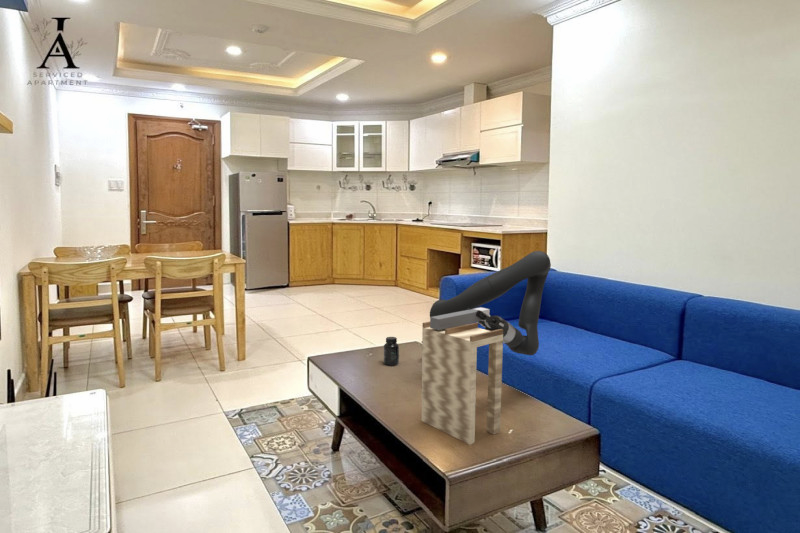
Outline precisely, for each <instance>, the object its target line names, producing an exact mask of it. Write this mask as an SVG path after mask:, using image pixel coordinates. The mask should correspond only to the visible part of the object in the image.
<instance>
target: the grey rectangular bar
mask: <svg viewBox="0 0 800 533" xmlns="http://www.w3.org/2000/svg"><path fill="white" fill-rule="evenodd" d="M478 310H480V311H482V312H483V313H485V314H488V315H490V310H491V309H490V308H486V307H481V306H479V307H476V308H474V309H470V310H465V311H459V312H454V313H449V314H444V315H439V316H434V317H430V316H429V319H430V320H429V322H430V328H433V329H436V330H442V329H447V328H451V327H456V326H460V325H467V324H472V323H474V322H476V323H477V322H479V321H483V320H482V319H480V318H478V317H477V316H476V313H477V311H478Z"/></svg>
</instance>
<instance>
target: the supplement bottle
mask: <svg viewBox="0 0 800 533" xmlns="http://www.w3.org/2000/svg"><path fill="white" fill-rule="evenodd" d="M397 339H398V338H397V337H395V336H387V337H386V338H385V343H384V344H383V365H385V366H386V365H387V367H395V365H396V366H398V365H399V364H400V345H399V344H398V340H397Z"/></svg>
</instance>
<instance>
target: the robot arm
mask: <svg viewBox="0 0 800 533" xmlns="http://www.w3.org/2000/svg"><path fill="white" fill-rule="evenodd" d="M551 265H552V264H551V259H550V257H549V255H548V254H547V253H546V252H544V251H541V250H535V251H532V252H530V253H528V254H527V255H526V256H524V257H523V258H520V259H519V260H518V261H516V262H514V263H513V264H511V265H509V266H507V267H504V268H502V269H500V270H498V271H495V272H494V273H491V274H489V275H487V276H485V277H483V278H481V279H479V280H478V281H476V282H474V283H472V284H471V285H470V286H469V287H467V288H466V289H465V290H464V291H462V292H461V293H458V295H456V296H453V297H451V298H449V299H438V300H435V301H434V302H433V304H432V306H431V307H430V310H429V318H430V317H434V316H439V315H444V314H449V313H454V312H459V311H465V310H470V309H475V308H480V307H481V306H483V305H485V304H488V303H490V302H491V301H494V300H495V299H498V298H499V297H501V296H503V295H504V294H507V292H508V291H509V290H511V289H513V288H514V287H515V286H516V285H518V284H519V283H521V282H522V281H524V280H527V283H526V290H525V293H524V297H523V300H522V304H521V308H520V312H519V317H518V318H519V319H518V327H519V328H520V329H522V330H525V333H526V335H524V334H522V332H521V331H520V330H519V329H518V328H517V327H514V326H513V325H512V324H511V323H510V322H508V320H505V319H504V318H502V316H500V315H491V314H489V315H488V314H485V313H483V312H482V311H480V310H478V311H477V313H476V316H477V317H478V318H480V319H482V320H483V321H479V322H474V323H478V325H481V327H483V328H484V329H485V330H489V331H494V330H498V329H503V345H504V344H505V345H506V346H507V347H508V349H509V350H511V351H512V352H514V353H515V354H520V355H527V356H535V354H537V352H538V351H539V346H540V343H539V341H540V340H539V333H538V332H539V331H538V325H539V324H538V322H539V318H540V317H539V316H540V311H541V304H542V298H543V291H544V287H545V284H546V281H547V277H548V275H549V272H550V270H551V268H552V266H551Z"/></svg>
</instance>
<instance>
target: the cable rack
mask: <svg viewBox="0 0 800 533" xmlns="http://www.w3.org/2000/svg"><path fill="white" fill-rule="evenodd" d="M421 331H422V332H421V335H422V336H421V337H422V341H421V344H422V345H421V346H422V347H421V352H422V353H421V419H420V421H421V422H423V423H425V424H427V425H429V426H431V427H433V428H435V429H438V430H439V431H441V432H444V433H445V434H448V435H450V436H451V437H453V438H456V439H458V440H460V441H462V442H464V443H466V444H468V445H472V444H475V439H476V438H475V436H476V435H475V434H476V433H475V432H476V430H475V428H476V397H477V396H476V395H477V394H476V391H477V390H476V388H477V355H478V351H477V350H478V348H479V347H483V346H487V345H488V367H487V370H488V372H487V376H488V377H487V403H486V407H487V408H486V432H487V433H490V434H492V435H496V434H499V433H500V432H501V412H502V388H503V386H502V384H503V383H502V381H503V356H504V355H503V352H504V351H503V350H504V349H503V348H504V343H503V329H498V330H494V331H489V330H485V328H481V327H479V323H477V322H476V323H470V324H465V325H460V326H456V327H451V328H447V329H442V330H436V329H433V328H430V321H425V322H422V330H421Z"/></svg>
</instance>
